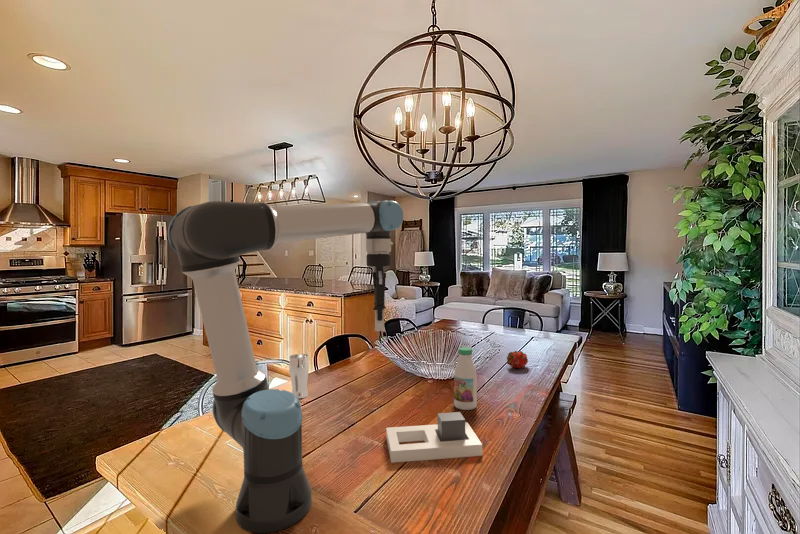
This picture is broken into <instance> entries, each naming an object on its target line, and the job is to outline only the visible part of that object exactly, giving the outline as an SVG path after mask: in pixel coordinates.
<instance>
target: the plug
mask: <svg viewBox="0 0 800 534" xmlns="http://www.w3.org/2000/svg"><path fill="white" fill-rule="evenodd" d="M465 422H466V419H465V417H464V416H463V414H462V413H461V411H454V412H453V411H452V412H439V413H437V424H438V438H439V440H440V442H442V441H455V440H465Z"/></svg>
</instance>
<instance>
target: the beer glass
mask: <svg viewBox="0 0 800 534" xmlns="http://www.w3.org/2000/svg"><path fill="white" fill-rule="evenodd" d="M309 364H310V363H309V356H308V354H307V353H297V354H296V353H295V354H292V355H290V356H289V362H288V366H289V377H290V382H291V393H293V394H295V395H296V396H297V397H298V399H299V400H300V399H301V398H302V399H305V398H307V397H309V392H308V387H307V386H308V379H309V378H308V377H309V368H310V366H309Z"/></svg>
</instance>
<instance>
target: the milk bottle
mask: <svg viewBox="0 0 800 534" xmlns="http://www.w3.org/2000/svg"><path fill="white" fill-rule="evenodd" d="M458 356H459V357H458V361H457V363H456V366H455V368H454V373H453V374H454V375H453V405H454V407H455V408H456V409H459V410H462V411H470V410H475V409H476V408H477V406H478V403H477V402H478V393H477V392H478V378H477V375H478V374H477V369H476V367H475V364H474V361H473V359H472V356H473V349H472V348H471V347H468V346H467V347H463V346H461V347H459V348H458Z"/></svg>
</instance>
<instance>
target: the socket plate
mask: <svg viewBox="0 0 800 534" xmlns="http://www.w3.org/2000/svg"><path fill="white" fill-rule="evenodd" d="M385 433H386V443H387V449H388V454H389V458H390V459H389V460H390V463H403V462H404V463H405V462H418V461H420V462H421V461H430V460H431V461H432V460H441V459H442V460H443V459H456V458H457V459H458V458H469V457H482V456H483V443H482V442H481V441H480V439H479V437H478V436H477V434H476V433H475V432H474V430H473V429H472V427H471V426H470V424H469V423H468V422H467V421H465V440H455V441H442V442H440V440H439V438H438V423H437V424H436V423H435V424H424V425H423V424H422V425H410V426H409V425H408V426H393V427H391V426H390V427H386V430H385ZM419 441H420V442H419ZM421 441H422V442H421ZM423 441H424V442H423ZM407 442H408V443H407ZM409 442H413V443H409ZM414 442H415V443H414ZM400 443H403V444H400Z"/></svg>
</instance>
